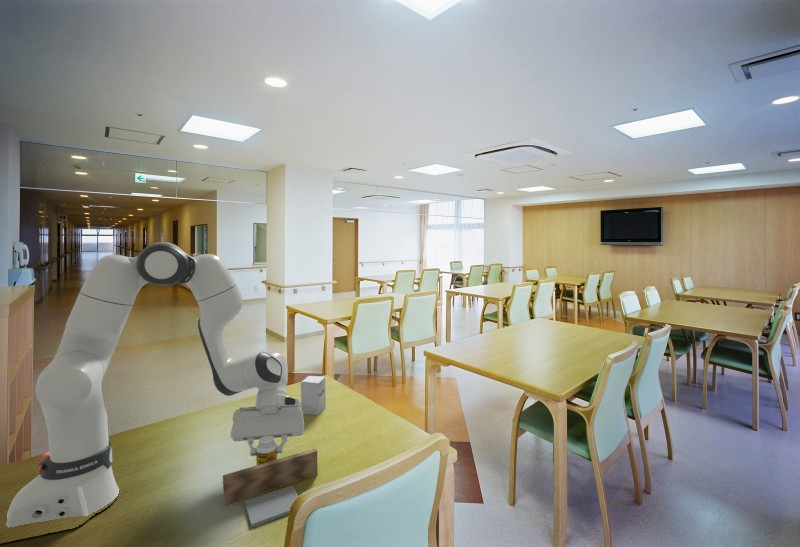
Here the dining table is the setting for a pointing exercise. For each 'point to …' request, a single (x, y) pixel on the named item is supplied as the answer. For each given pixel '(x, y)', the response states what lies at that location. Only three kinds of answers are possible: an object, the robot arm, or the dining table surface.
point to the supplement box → (313, 395)
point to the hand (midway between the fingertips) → (266, 454)
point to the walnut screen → (269, 476)
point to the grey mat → (270, 505)
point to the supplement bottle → (266, 450)
